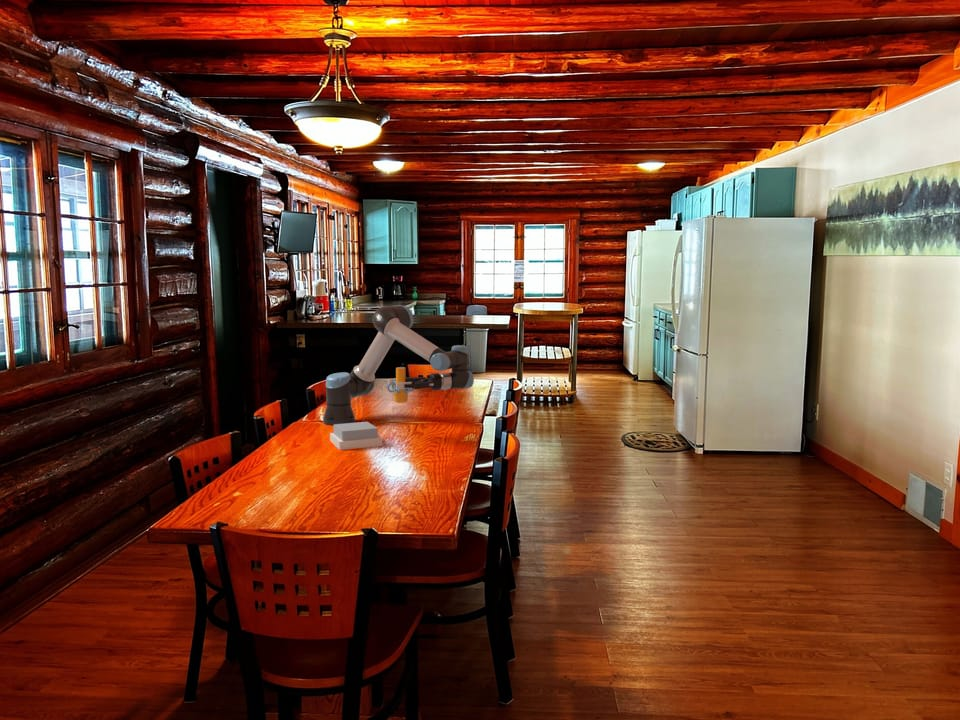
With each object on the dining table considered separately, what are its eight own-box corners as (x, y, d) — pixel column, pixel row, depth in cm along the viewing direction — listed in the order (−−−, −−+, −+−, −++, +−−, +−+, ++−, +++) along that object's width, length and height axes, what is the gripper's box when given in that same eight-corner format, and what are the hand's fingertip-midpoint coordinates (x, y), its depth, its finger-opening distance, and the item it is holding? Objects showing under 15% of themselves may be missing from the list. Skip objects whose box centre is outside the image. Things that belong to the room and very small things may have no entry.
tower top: (333, 433, 309) (333, 424, 308) (367, 430, 315) (367, 421, 315) (342, 441, 295) (342, 431, 295) (377, 437, 302) (377, 428, 301)
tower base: (330, 442, 310) (329, 433, 310) (370, 438, 318) (370, 429, 317) (339, 451, 294) (339, 442, 293) (382, 447, 301) (382, 438, 301)
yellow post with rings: (408, 404, 308) (408, 370, 306) (385, 403, 310) (384, 369, 308) (416, 399, 320) (416, 366, 318) (393, 398, 322) (393, 365, 320)
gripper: (449, 394, 311) (400, 397, 302) (430, 385, 332) (384, 388, 323) (449, 376, 310) (400, 379, 301) (430, 369, 331) (384, 371, 322)
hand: (392, 384), depth 312 cm, fingers closed on yellow post with rings, 11 cm apart
